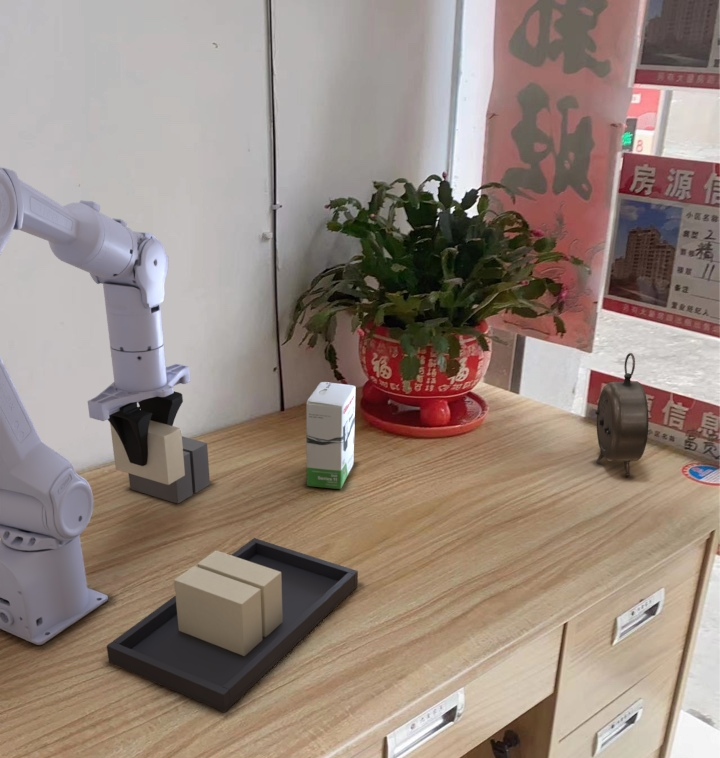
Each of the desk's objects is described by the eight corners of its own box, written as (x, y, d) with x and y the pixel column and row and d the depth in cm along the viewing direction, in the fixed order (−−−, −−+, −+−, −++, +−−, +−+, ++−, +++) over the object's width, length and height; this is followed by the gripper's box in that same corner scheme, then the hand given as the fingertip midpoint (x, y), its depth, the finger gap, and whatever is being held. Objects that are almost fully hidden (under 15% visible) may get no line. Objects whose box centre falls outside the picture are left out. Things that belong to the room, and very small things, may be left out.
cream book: (168, 485, 101) (164, 436, 98) (115, 469, 104) (109, 422, 101) (185, 475, 103) (181, 428, 100) (132, 460, 106) (127, 414, 103)
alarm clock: (641, 481, 120) (663, 367, 112) (601, 480, 120) (621, 366, 112) (621, 448, 130) (640, 341, 122) (585, 447, 130) (601, 340, 122)
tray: (224, 712, 77) (223, 694, 76) (108, 662, 83) (106, 645, 82) (357, 586, 96) (358, 570, 95) (254, 552, 101) (254, 537, 100)
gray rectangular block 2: (195, 493, 114) (192, 451, 111) (148, 479, 117) (143, 437, 115) (210, 484, 116) (207, 443, 114) (163, 470, 120) (159, 430, 117)
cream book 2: (265, 637, 86) (263, 586, 83) (200, 613, 90) (196, 563, 87) (282, 622, 89) (281, 571, 86) (219, 599, 92) (215, 549, 89)
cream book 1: (244, 656, 84) (241, 604, 81) (178, 630, 87) (173, 579, 84) (262, 640, 86) (260, 588, 83) (197, 615, 89) (193, 565, 86)
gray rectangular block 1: (178, 504, 111) (174, 461, 109) (129, 489, 115) (125, 446, 112) (193, 494, 114) (189, 452, 111) (145, 480, 117) (141, 438, 114)
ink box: (341, 490, 116) (342, 405, 110) (305, 486, 116) (304, 402, 111) (355, 463, 123) (356, 382, 118) (320, 459, 124) (320, 379, 118)
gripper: (118, 369, 89) (132, 489, 95) (207, 333, 100) (214, 443, 106) (67, 357, 92) (83, 474, 98) (159, 324, 103) (168, 431, 109)
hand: (148, 457), depth 102 cm, fingers closed on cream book, 3 cm apart
